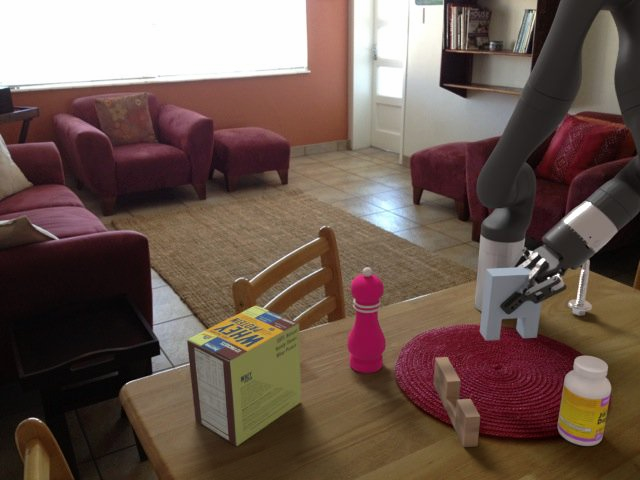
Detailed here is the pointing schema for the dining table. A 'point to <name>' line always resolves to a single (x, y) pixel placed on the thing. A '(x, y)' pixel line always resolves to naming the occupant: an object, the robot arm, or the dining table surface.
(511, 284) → the pale blue notched block
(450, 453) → the dining table surface
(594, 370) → the supplement bottle
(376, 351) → the pepper mill
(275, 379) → the protein box
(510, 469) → the dining table surface
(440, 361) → the wooden notched block
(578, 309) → the screw
